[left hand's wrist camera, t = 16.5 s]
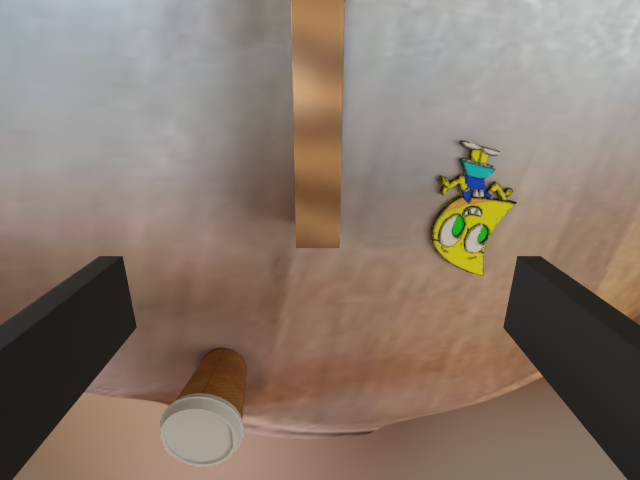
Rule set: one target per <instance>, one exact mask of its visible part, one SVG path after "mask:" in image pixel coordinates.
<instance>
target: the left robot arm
mask: <svg viewBox="0 0 640 480" xmlns="http://www.w3.org/2000/svg"><path fill="white" fill-rule="evenodd" d="M136 328H137V327H136V322H135V317H134V312H133V307H132V302H131V297H130V292H129V287H128V282H127V276H126V271H125V266H124V261H123V256H99V257H98V258H96V259H95V260H94V261H92V262H91V263H89V264H88V265H86V266H85V267H83V268H82V269H81V270H79V271H78V272H76V273H75V274H73V275H72V276H71V277H69V278H68V279H66V280H65V281H63V282H62V283H60V284H59V285H58V286H56V287H55V288H53V289H52V290H50V291H49V292H48V293H46V294H45V295H43V296H42V297H40V298H39V299H37V300H36V301H35V302H33V303H32V304H30V305H29V306H27V307H26V308H25V309H23V310H22V311H20V312H19V313H17V314H16V315H15V316H13V317H12V318H10V319H9V320H7V321H6V322H4V323H3V324H2V325H0V480H12V479H13V478H14V477H15V476H16V475H17V473H18V472H19V471H20V470H21V468H22V467H23V466H24V465H25V464H26V462H27V461H28V460H29V459H30V457H31V456H32V455H33V454H34V453H35V451H36V450H37V449H38V448H39V446H40V445H41V444H42V443H43V442H44V440H45V439H46V438H47V437H48V435H49V434H50V433H51V432H52V431H53V429H54V428H55V427H56V426H57V424H58V423H59V422H60V421H61V419H62V418H63V417H64V416H65V415H66V413H67V412H68V411H69V410H70V408H71V407H72V406H73V405H74V403H75V402H76V401H77V400H78V399H79V397H80V396H81V395H82V394H83V393H84V391H85V390H86V389H87V388H88V386H89V385H90V384H91V383H92V382H93V380H94V379H95V378H96V377H97V375H98V374H99V373H100V372H101V370H102V369H103V368H104V367H105V366H106V364H107V363H108V362H109V361H110V359H111V358H112V357H113V356H114V355H115V353H116V352H117V351H118V350H119V348H120V347H121V346H122V345H123V344H124V342H125V341H126V340H127V339H128V337H129V336H130V335H131V334H132V333H133V331H134V330H135V329H136ZM503 328H504V329H505V330H506V331H507V333H508V334H509V335H510V336H511V337H512V339H513V340H514V341H515V342H516V344H517V345H518V346H519V347H520V348H521V350H522V351H523V352H524V353H525V355H526V356H527V357H528V358H529V359H530V361H531V362H532V363H533V364H534V366H535V367H536V368H537V369H538V370H539V372H540V373H541V374H542V375H543V377H544V378H545V379H546V380H547V382H548V383H549V384H550V385H551V386H552V388H553V389H554V390H555V391H556V393H557V394H558V395H559V396H560V397H561V399H562V400H563V401H564V402H565V403H566V405H567V406H568V407H569V408H570V410H571V411H572V412H573V413H574V415H575V416H576V417H577V418H578V419H579V421H580V422H581V423H582V424H583V426H584V427H585V428H586V429H587V431H588V432H589V433H590V434H591V435H592V437H593V438H594V439H595V440H596V442H597V443H598V444H599V445H600V446H601V448H602V449H603V450H604V451H605V453H606V454H607V455H608V456H609V457H610V459H611V460H612V461H613V462H614V464H615V465H616V466H617V467H618V468H619V470H620V471H621V472H622V473H623V475H624V476H625V477H626V478H627V480H640V325H638V324H637V323H636V322H634V321H633V320H631V319H630V318H628V317H627V316H625V315H624V314H623V313H621V312H620V311H618V310H617V309H615V308H614V307H613V306H611V305H610V304H608V303H607V302H605V301H604V300H603V299H601V298H600V297H598V296H597V295H595V294H594V293H592V292H591V291H590V290H588V289H587V288H585V287H584V286H582V285H581V284H580V283H578V282H577V281H575V280H574V279H572V278H571V277H569V276H568V275H567V274H565V273H564V272H562V271H561V270H559V269H558V268H557V267H555V266H554V265H552V264H551V263H549V262H548V261H546V260H545V259H544V258H542V257H541V256H517V261H516V266H515V271H514V276H513V282H512V287H511V292H510V297H509V302H508V307H507V312H506V317H505V322H504V327H503Z"/></svg>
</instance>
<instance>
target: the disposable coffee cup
mask: <svg viewBox="0 0 640 480" xmlns="http://www.w3.org/2000/svg"><path fill="white" fill-rule="evenodd" d="M246 373H247V366H246V362H245V361H244V359H243V358H242V357H241V356H240V355H239V354H238V353H236V352H234V351H231V350H227V349H218V350H214V351H212V352H210V353H209V354H207V355H206V357H205V358H204V360H203V361H202V363H201V364H200V366H199V367H198V368H197V370H196V371H195V373H194V374H193V376H192V377H191V379H190V380H189V382H188V383H187V385H186V386H185V387H184V389H183V390H182V392H181V393H180V395H179V396H178V398H177V399H176V401H175V402H174V403H172V404H171V405H169V406H168V408H167V409H166V410H165V412H164V413H163V415H162V418H161V423H160V428H161V432H160V438H161V442H162V444H163V446H164V448H165V449H166V451H167V452H168V453H169V454H170V455H171V456H172V457H174V458H175V459H177V460H179V461H181V462H183V463H185V464H188V465H192V466H199V467H207V466H214V465H217V464H220V463H223V462H224V461H226V460H227V459H229V458H230V457H231V456H232V455H233V453H234V452H235V450H236V449H237V448H238V447H239V446H240V444H241V442H242V440H243V436H244V425H243V421H242V416H243V405H244V394H245V384H246Z"/></svg>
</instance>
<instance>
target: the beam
mask: <svg viewBox="0 0 640 480" xmlns="http://www.w3.org/2000/svg"><path fill="white" fill-rule="evenodd" d="M344 7H345V0H291V30H292V76H293V122H294V168H295V213H296V248H339V244H340V197H341V149H342V102H343V54H344Z"/></svg>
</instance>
